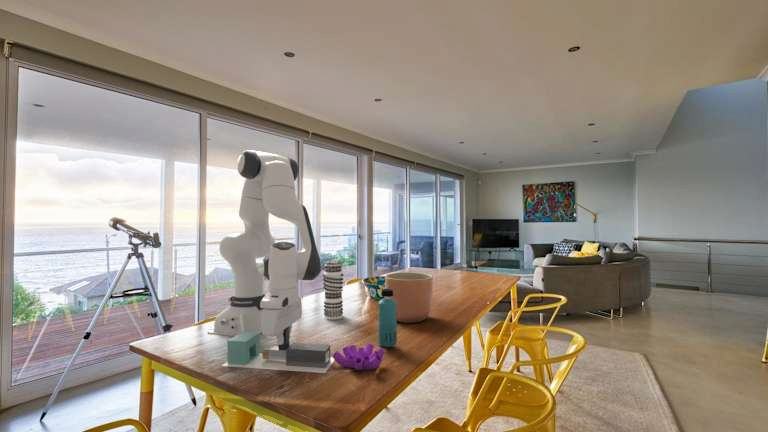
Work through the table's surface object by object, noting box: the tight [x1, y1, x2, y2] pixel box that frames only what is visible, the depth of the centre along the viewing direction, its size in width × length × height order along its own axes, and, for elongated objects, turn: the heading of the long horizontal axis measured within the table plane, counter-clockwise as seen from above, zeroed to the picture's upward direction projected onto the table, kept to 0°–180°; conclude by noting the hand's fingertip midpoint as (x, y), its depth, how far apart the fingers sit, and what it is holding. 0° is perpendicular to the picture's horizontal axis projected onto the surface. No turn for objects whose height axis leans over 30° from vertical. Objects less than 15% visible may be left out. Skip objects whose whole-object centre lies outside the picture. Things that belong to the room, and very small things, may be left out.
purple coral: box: [332, 342, 386, 371], centre depth 106 cm, size 11×15×10 cm
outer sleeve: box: [286, 342, 331, 368], centre depth 108 cm, size 12×5×5 cm, turn 80°
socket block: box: [226, 332, 261, 365], centre depth 111 cm, size 6×8×7 cm
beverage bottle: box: [377, 288, 398, 347], centre depth 123 cm, size 6×7×20 cm
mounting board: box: [221, 352, 335, 374], centre depth 109 cm, size 32×11×1 cm, turn 80°
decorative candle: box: [322, 260, 345, 320], centre depth 161 cm, size 9×9×25 cm
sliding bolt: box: [262, 328, 329, 363], centre depth 108 cm, size 20×3×9 cm, turn 80°
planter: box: [384, 271, 434, 324], centre depth 157 cm, size 21×21×19 cm
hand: (283, 341), depth 109 cm, fingers closed on sliding bolt, 2 cm apart
